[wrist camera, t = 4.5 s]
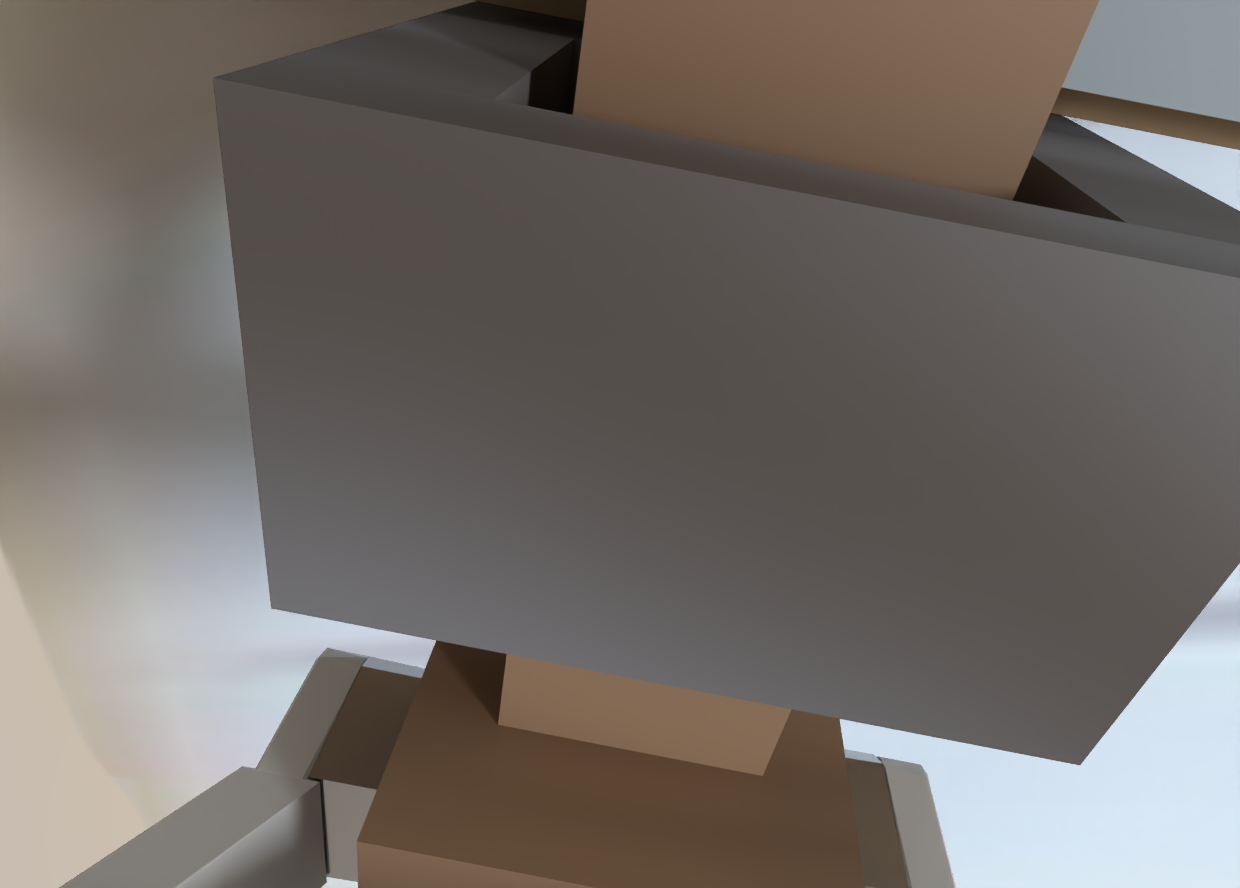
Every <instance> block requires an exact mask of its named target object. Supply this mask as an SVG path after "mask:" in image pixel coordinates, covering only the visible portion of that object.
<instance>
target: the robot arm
mask: <svg viewBox="0 0 1240 888" xmlns="http://www.w3.org/2000/svg"><path fill="white" fill-rule="evenodd" d="M424 671H425V669H423V668H419V667H414V666H410V665H405V664H401V663H397V662H392V661H388V660H383V659H379V658H374V657H370V656H365V655H360V654H355V653H350V652H345V651H341V650H336V649H331V648H327V649H326V650H325V651H324V652H323V653H322V654H321V655H320V656H319V657H318V658H317V659H316V661H315V663H314V664H313V666H312V668H311V670H310V672H309V673H308V675H307V677H306V679H305V681H304V682H303V684H302V686H301V688H300V690H299V691H298V693H297V695H296V697H295V699H294V700H293V702H292V704H291V706H290V708H289V709H288V711H287V713H286V715H285V717H284V718H283V720H282V722H281V724H280V725H279V727H278V729H277V731H276V733H275V734H274V736H273V738H272V740H271V742H270V743H269V745H268V747H267V749H266V751H265V752H264V754H263V756H262V758H261V760H260V761H259V763H258V765H257V767H256V769H255V768H249V767H243V766H242V767H241V768H239V769H238V770H236V771H235V772H233V773H232V774H230V775H229V776H227V777H226V778H224V779H223V780H221V781H220V782H218V783H217V784H215V785H214V786H212V787H210V788H209V789H207V790H206V791H204V792H203V793H201V794H200V795H198V796H197V797H195V798H194V799H192V800H191V801H189V802H188V803H186V804H185V805H183V806H182V807H180V808H179V809H177V810H176V811H174V812H173V813H171V814H170V815H168V816H167V817H165V818H164V819H162V820H161V821H159V822H158V823H156V824H155V825H153V826H152V827H150V828H149V829H147V830H146V831H144V832H143V833H141V834H139V835H138V836H136V837H135V838H134V839H132V840H131V841H129V842H127V843H126V844H125V845H123V846H121V847H120V848H118V849H117V850H115V851H114V852H112V853H111V854H109V855H108V856H106V857H105V858H103V859H102V860H100V861H99V862H97V863H96V864H94V865H93V866H91V867H90V868H88V869H87V870H85V871H84V872H82V873H81V874H79V875H77V876H76V877H75V878H73V879H72V880H70V881H69V882H67V883H65V884H64V885H62V886H61V887H59V888H321V887H322V886H323V885H324V884H325V883H326V881H327V879H326V877H331V878H337V879H343V880H350V881H356V882H358V868H357V839H358V837H359V834H360V832H361V829H362V827H363V824H364V821H365V819H366V816H367V814H368V811H369V809H370V806H371V804H372V801H373V799H374V796H375V794H376V791H377V789H378V786H379V784H380V781H381V779H382V776H383V774H384V771H385V769H386V766H387V764H388V761H389V759H390V756H391V754H392V751H393V749H394V746H395V743H396V741H397V738H398V736H399V733H400V731H401V728H402V726H403V723H404V721H405V718H406V716H407V713H408V711H409V708H410V706H411V703H412V701H413V698H414V696H415V693H416V691H417V688H418V686H419V683H420V681H421V678H422V676H423V673H424ZM844 753H845V759H846V766H847V772H848V779H849V785H850V792H851V798H852V805H853V811H854V818H855V825H856V831H857V838H858V844H859V851H860V857H861V864H862V870H863V877H864V883H865V888H956V886H955V882H954V878H953V874H952V870H951V866H950V862H949V858H948V854H947V850H946V846H945V842H944V838H943V834H942V830H941V827H940V823H939V819H938V815H937V811H936V807H935V803H934V799H933V795H932V791H931V787H930V783H929V779H928V775H927V773H926V772H925V770H924V769H923V767H922V766H921V765H919V764H915V763H910V762H904V761H899V760H894V759H889V758H883V757H876V756H875V755H873V754H868V753H862V752H857V751H851V750H846V749H844Z"/></svg>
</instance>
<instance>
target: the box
mask: <svg viewBox="0 0 1240 888" xmlns="http://www.w3.org/2000/svg"><path fill="white" fill-rule="evenodd" d="M475 1H476V2H472V3H469V4H465V5H462V6H458V7H455V8H452V9H448V10H445V11H441V12H438V13H434V14H431V15H428V16H424V17H421V18H417V19H414V20H410V21H407V22H404V23H400V24H397V25H393V26H390V27H386V28H383V29H379V30H376V31H373V32H369V33H366V34H362V35H359V36H355V37H352V38H349V39H345V40H342V41H338V42H335V43H331V44H328V45H325V46H321V47H318V48H314V49H311V50H307V51H304V52H301V53H297V54H294V55H290V56H287V57H283V58H280V59H277V60H273V61H270V62H266V63H263V64H259V65H256V66H252V67H249V68H246V69H242V70H239V71H235V72H232V73H228V74H225V75H222V76H218V77H215V78H213V82H214V91H215V100H216V109H217V118H218V127H219V136H220V146H221V155H222V164H223V173H224V182H225V191H226V200H227V209H228V218H229V228H230V237H231V246H232V255H233V264H234V273H235V282H236V291H237V300H238V310H239V319H240V328H241V337H242V346H243V355H244V364H245V373H246V382H247V392H248V401H249V410H250V419H251V428H252V437H253V446H254V455H255V464H256V474H257V483H258V492H259V501H260V510H261V519H262V528H263V537H264V546H265V556H266V565H267V574H268V583H269V592H270V601H271V608H272V609H278V610H283V611H288V612H293V613H298V614H303V615H308V616H314V617H319V618H324V619H329V620H334V621H339V622H344V623H350V624H355V625H360V626H365V627H370V628H375V629H381V630H386V631H391V632H396V633H401V634H406V635H411V636H417V637H422V638H427V639H432V640H437V641H442V642H448V643H453V644H458V645H463V646H468V647H473V648H478V649H484V650H489V651H494V652H499V653H504V654H509V655H515V656H520V657H525V658H530V659H535V660H540V661H545V662H551V663H556V664H561V665H566V666H571V667H576V668H582V669H587V670H592V671H597V672H602V673H607V674H612V675H618V676H623V677H628V678H633V679H638V680H643V681H649V682H654V683H659V684H664V685H669V686H674V687H679V688H685V689H690V690H695V691H700V692H705V693H710V694H715V695H721V696H726V697H731V698H736V699H741V700H746V701H752V702H757V703H762V704H767V705H772V706H777V707H782V708H788V709H793V710H798V711H803V712H808V713H813V714H819V715H824V716H829V717H834V718H839V719H844V720H849V721H855V722H860V723H865V724H870V725H875V726H880V727H886V728H891V729H896V730H901V731H906V732H911V733H916V734H922V735H927V736H932V737H937V738H942V739H947V740H953V741H958V742H963V743H968V744H973V745H978V746H983V747H989V748H994V749H999V750H1004V751H1009V752H1014V753H1020V754H1025V755H1030V756H1035V757H1040V758H1045V759H1050V760H1056V761H1061V762H1066V763H1071V764H1076V765H1081V763H1082V762H1083V761H1084V760H1085V758H1086V757H1087V756H1088V754H1089V753H1090V752H1091V751H1092V749H1093V748H1094V747H1095V746H1096V744H1097V743H1098V742H1099V741H1100V739H1101V738H1102V737H1103V735H1104V734H1105V733H1106V732H1107V730H1108V729H1109V728H1110V727H1111V725H1112V724H1113V723H1114V722H1115V720H1116V719H1117V718H1118V716H1119V715H1120V714H1121V713H1122V711H1123V710H1124V709H1125V708H1126V706H1127V705H1128V704H1129V703H1130V701H1131V700H1132V699H1133V697H1134V696H1135V695H1136V694H1137V692H1138V691H1139V690H1140V689H1141V687H1142V686H1143V685H1144V684H1145V682H1146V681H1147V680H1148V678H1149V677H1150V676H1151V675H1152V673H1153V672H1154V671H1155V670H1156V668H1157V667H1158V666H1159V665H1160V663H1161V662H1162V661H1163V659H1164V658H1165V657H1166V656H1167V654H1168V653H1169V652H1170V651H1171V649H1172V648H1173V647H1174V646H1175V644H1176V643H1177V642H1178V640H1179V639H1180V638H1181V637H1182V635H1183V634H1184V633H1185V632H1186V630H1187V629H1188V628H1189V627H1190V625H1191V624H1192V623H1193V621H1194V620H1195V619H1196V618H1197V616H1198V615H1199V614H1200V613H1201V611H1202V610H1203V609H1204V608H1205V606H1206V605H1207V604H1208V602H1209V601H1210V600H1211V599H1212V597H1213V596H1214V595H1215V594H1216V592H1217V591H1218V590H1219V589H1220V587H1221V586H1222V585H1223V583H1224V582H1225V581H1226V580H1227V578H1228V577H1229V576H1230V575H1231V573H1232V572H1233V571H1234V570H1235V568H1236V567H1237V566H1238V564H1239V563H1240V211H1238V210H1236V209H1234V208H1233V207H1231V206H1229V205H1227V204H1225V203H1223V202H1221V201H1220V200H1218V199H1216V198H1214V197H1212V196H1210V195H1208V194H1207V193H1205V192H1203V191H1201V190H1199V189H1197V188H1195V187H1194V186H1192V185H1190V184H1188V183H1186V182H1184V181H1182V180H1181V179H1179V178H1177V177H1175V176H1173V175H1171V174H1169V173H1168V172H1166V171H1164V170H1162V169H1160V168H1158V167H1156V166H1155V165H1153V164H1151V163H1149V162H1147V161H1145V160H1143V159H1142V158H1140V157H1138V156H1136V155H1134V154H1132V153H1130V152H1129V151H1127V150H1125V149H1123V148H1121V147H1119V146H1117V145H1116V144H1114V143H1112V142H1110V141H1108V140H1106V139H1104V138H1103V137H1101V136H1099V135H1097V134H1095V133H1093V132H1091V131H1090V130H1088V129H1086V128H1084V127H1082V126H1080V125H1078V124H1077V123H1075V122H1073V121H1071V120H1069V119H1067V118H1065V117H1064V116H1069V117H1074V118H1079V119H1084V120H1089V121H1094V122H1099V123H1105V124H1110V125H1115V126H1120V127H1125V128H1130V129H1135V130H1140V131H1146V132H1151V133H1156V134H1161V135H1166V136H1171V137H1176V138H1181V139H1187V140H1192V141H1197V142H1202V143H1207V144H1212V145H1217V146H1222V147H1227V148H1233V149H1238V150H1240V122H1237V121H1232V120H1227V119H1222V118H1216V117H1211V116H1206V115H1201V114H1196V113H1191V112H1186V111H1181V110H1175V109H1170V108H1165V107H1160V106H1155V105H1150V104H1145V103H1140V102H1134V101H1129V100H1124V99H1119V98H1114V97H1109V96H1104V95H1099V94H1094V93H1088V92H1083V91H1078V90H1073V89H1068V88H1063V87H1062V88H1061V90H1060V92H1059V94H1058V97H1057V99H1056V101H1055V104H1054V106H1053V108H1052V111H1051V113H1050V115H1049V117H1048V120H1047V122H1046V124H1045V127H1044V129H1043V131H1042V134H1041V136H1040V138H1039V141H1038V143H1037V145H1036V147H1035V150H1034V152H1033V154H1032V157H1031V159H1030V161H1029V164H1028V166H1027V168H1026V170H1025V173H1024V175H1023V177H1022V180H1021V182H1020V184H1019V187H1018V189H1017V191H1016V193H1015V196H1014V198H1013V200H1012V201H1011V200H1006V199H1001V198H996V197H991V196H986V195H981V194H976V193H971V192H965V191H960V190H955V189H950V188H945V187H940V186H935V185H930V184H924V183H919V182H914V181H909V180H904V179H899V178H894V177H889V176H883V175H878V174H873V173H868V172H863V171H858V170H853V169H848V168H842V167H837V166H832V165H827V164H822V163H817V162H812V161H807V160H801V159H796V158H791V157H786V156H781V155H776V154H771V153H766V152H760V151H755V150H750V149H745V148H740V147H735V146H730V145H725V144H719V143H714V142H709V141H704V140H699V139H694V138H689V137H684V136H678V135H673V134H668V133H663V132H658V131H653V130H648V129H643V128H637V127H632V126H627V125H622V124H617V123H612V122H607V121H602V120H596V119H591V118H586V117H581V116H576V115H573V109H574V101H575V93H576V85H577V77H578V69H579V60H580V52H581V44H582V36H583V28H584V20H585V12H586V3H587V0H475ZM1062 115H1064V116H1062Z"/></svg>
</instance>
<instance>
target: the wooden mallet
mask: <svg viewBox="0 0 1240 888" xmlns="http://www.w3.org/2000/svg"><path fill="white" fill-rule="evenodd" d="M1098 2H1099V0H587V3H586V12H585V20H584V28H583V36H582V44H581V52H580V60H579V69H578V77H577V85H576V93H575V101H574V109H573V115H576V116H581V117H586V118H591V119H596V120H602V121H607V122H612V123H617V124H622V125H627V126H632V127H637V128H643V129H648V130H653V131H658V132H663V133H668V134H673V135H678V136H684V137H689V138H694V139H699V140H704V141H709V142H714V143H719V144H725V145H730V146H735V147H740V148H745V149H750V150H755V151H760V152H766V153H771V154H776V155H781V156H786V157H791V158H796V159H801V160H807V161H812V162H817V163H822V164H827V165H832V166H837V167H842V168H848V169H853V170H858V171H863V172H868V173H873V174H878V175H883V176H889V177H894V178H899V179H904V180H909V181H914V182H919V183H924V184H930V185H935V186H940V187H945V188H950V189H955V190H960V191H965V192H971V193H976V194H981V195H986V196H991V197H996V198H1001V199H1006V200H1011V201H1012V200H1013V198H1014V196H1015V193H1016V191H1017V189H1018V187H1019V184H1020V182H1021V180H1022V177H1023V175H1024V173H1025V170H1026V168H1027V166H1028V164H1029V161H1030V159H1031V157H1032V154H1033V152H1034V150H1035V147H1036V145H1037V143H1038V141H1039V138H1040V136H1041V134H1042V131H1043V129H1044V127H1045V124H1046V122H1047V120H1048V117H1049V115H1050V113H1051V111H1052V108H1053V106H1054V104H1055V101H1056V99H1057V97H1058V94H1059V92H1060V90H1061V88H1062V85H1063V83H1064V81H1065V78H1066V76H1067V74H1068V71H1069V69H1070V67H1071V65H1072V62H1073V60H1074V58H1075V55H1076V53H1077V51H1078V48H1079V46H1080V44H1081V41H1082V39H1083V37H1084V35H1085V32H1086V30H1087V28H1088V25H1089V23H1090V21H1091V18H1092V16H1093V14H1094V12H1095V9H1096V7H1097V5H1098ZM357 868H358V888H865V883H864V877H863V870H862V864H861V857H860V851H859V844H858V838H857V831H856V825H855V818H854V811H853V805H852V798H851V792H850V785H849V779H848V772H847V766H846V759H845V753H844V746H843V740H842V733H841V727H840V720H839V718H834V717H829V716H824V715H819V714H813V713H808V712H803V711H798V710H793V709H788V708H782V707H777V706H772V705H767V704H762V703H757V702H752V701H746V700H741V699H736V698H731V697H726V696H721V695H715V694H710V693H705V692H700V691H695V690H690V689H685V688H679V687H674V686H669V685H664V684H659V683H654V682H649V681H643V680H638V679H633V678H628V677H623V676H618V675H612V674H607V673H602V672H597V671H592V670H587V669H582V668H576V667H571V666H566V665H561V664H556V663H551V662H545V661H540V660H535V659H530V658H525V657H520V656H515V655H509V654H504V653H499V652H494V651H489V650H484V649H478V648H473V647H468V646H463V645H458V644H453V643H448V642H442V641H437V640H436V643H435V645H434V648H433V650H432V653H431V655H430V658H429V660H428V663H427V666H426V668H425V671H424V673H423V676H422V678H421V681H420V683H419V686H418V688H417V691H416V693H415V696H414V698H413V701H412V703H411V706H410V708H409V711H408V713H407V716H406V718H405V721H404V723H403V726H402V728H401V731H400V733H399V736H398V738H397V741H396V743H395V746H394V749H393V751H392V754H391V756H390V759H389V761H388V764H387V766H386V769H385V771H384V774H383V776H382V779H381V781H380V784H379V786H378V789H377V791H376V794H375V796H374V799H373V801H372V804H371V806H370V809H369V811H368V814H367V816H366V819H365V821H364V824H363V827H362V829H361V832H360V834H359V837H358V839H357Z"/></svg>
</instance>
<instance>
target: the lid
mask: <svg viewBox="0 0 1240 888" xmlns="http://www.w3.org/2000/svg"><path fill="white" fill-rule="evenodd" d="M1062 87H1063V88H1068V89H1073V90H1078V91H1083V92H1088V93H1094V94H1099V95H1104V96H1109V97H1114V98H1119V99H1124V100H1129V101H1134V102H1140V103H1145V104H1150V105H1155V106H1160V107H1165V108H1170V109H1175V110H1181V111H1186V112H1191V113H1196V114H1201V115H1206V116H1211V117H1216V118H1222V119H1227V120H1232V121H1237V122H1240V0H1099V2H1098V5H1097V7H1096V9H1095V12H1094V14H1093V16H1092V18H1091V21H1090V23H1089V25H1088V28H1087V30H1086V32H1085V35H1084V37H1083V39H1082V41H1081V44H1080V46H1079V48H1078V51H1077V53H1076V55H1075V58H1074V60H1073V62H1072V65H1071V67H1070V69H1069V71H1068V74H1067V76H1066V78H1065V81H1064V83H1063V85H1062Z"/></svg>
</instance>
